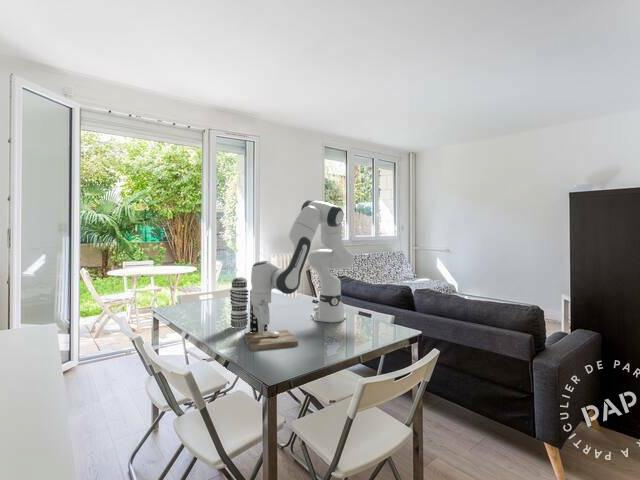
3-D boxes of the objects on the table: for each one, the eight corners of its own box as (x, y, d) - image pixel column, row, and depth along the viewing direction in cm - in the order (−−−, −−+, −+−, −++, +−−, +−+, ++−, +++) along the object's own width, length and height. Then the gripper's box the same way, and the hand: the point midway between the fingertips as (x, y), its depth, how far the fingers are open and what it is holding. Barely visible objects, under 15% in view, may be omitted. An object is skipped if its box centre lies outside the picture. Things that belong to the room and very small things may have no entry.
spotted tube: (270, 330, 173) (270, 289, 173) (262, 334, 165) (262, 292, 165) (255, 328, 176) (255, 288, 176) (246, 332, 168) (246, 291, 168)
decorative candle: (230, 330, 173) (230, 279, 172) (229, 325, 182) (229, 277, 181) (248, 328, 175) (249, 278, 175) (247, 324, 184) (247, 276, 184)
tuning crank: (278, 333, 159) (278, 320, 159) (280, 336, 155) (280, 322, 155) (256, 335, 156) (256, 321, 155) (258, 338, 151) (258, 324, 151)
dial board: (244, 337, 160) (244, 332, 160) (286, 333, 167) (286, 329, 167) (250, 350, 143) (250, 345, 143) (297, 345, 149) (297, 340, 149)
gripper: (273, 302, 145) (273, 335, 145) (263, 294, 164) (263, 323, 164) (258, 303, 143) (257, 337, 143) (250, 294, 162) (250, 324, 162)
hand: (261, 329), depth 154 cm, fingers closed on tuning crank, 2 cm apart
